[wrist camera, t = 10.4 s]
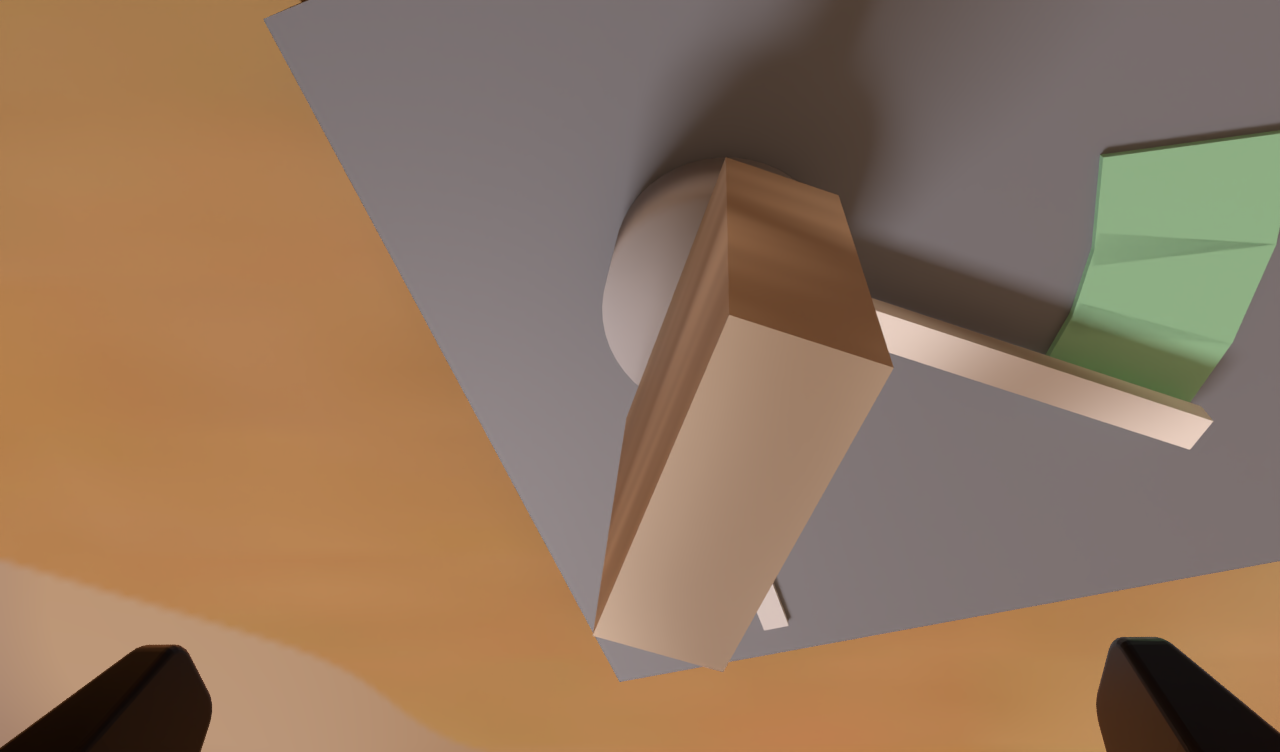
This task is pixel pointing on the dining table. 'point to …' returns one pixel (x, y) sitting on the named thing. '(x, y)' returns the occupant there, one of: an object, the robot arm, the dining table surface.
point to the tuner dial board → (888, 253)
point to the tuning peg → (767, 393)
